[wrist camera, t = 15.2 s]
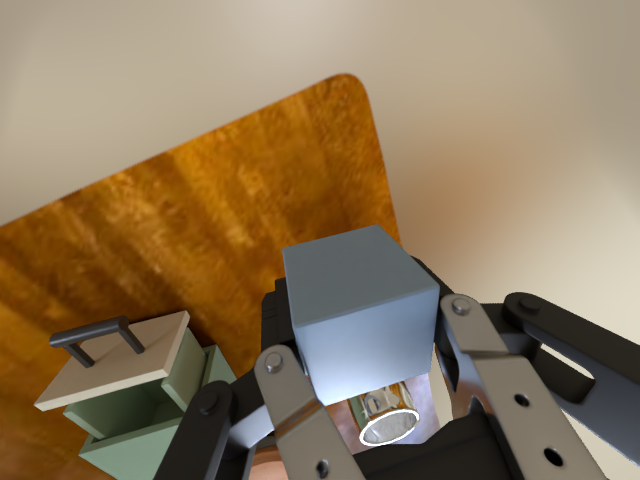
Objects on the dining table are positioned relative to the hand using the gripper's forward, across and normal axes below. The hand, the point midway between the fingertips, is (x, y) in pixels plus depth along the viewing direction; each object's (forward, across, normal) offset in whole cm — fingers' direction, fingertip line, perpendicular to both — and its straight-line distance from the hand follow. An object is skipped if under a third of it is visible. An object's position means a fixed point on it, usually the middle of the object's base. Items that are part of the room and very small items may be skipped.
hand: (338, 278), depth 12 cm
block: (0, 0, 0) cm, 0 cm away
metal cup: (+17, -3, +22) cm, 28 cm away
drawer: (+16, +23, +17) cm, 32 cm away
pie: (+17, +19, +54) cm, 60 cm away
